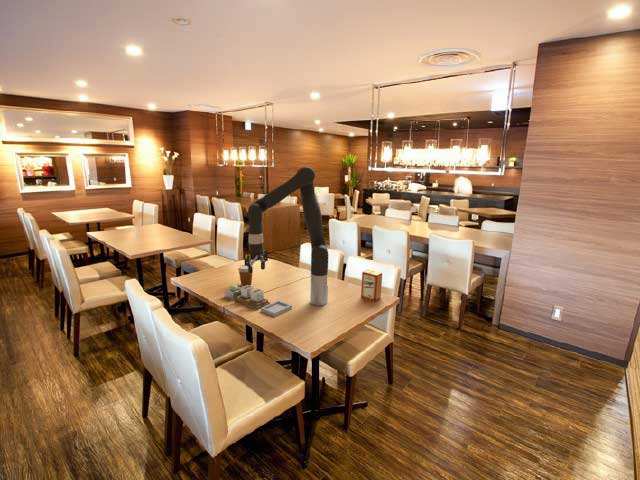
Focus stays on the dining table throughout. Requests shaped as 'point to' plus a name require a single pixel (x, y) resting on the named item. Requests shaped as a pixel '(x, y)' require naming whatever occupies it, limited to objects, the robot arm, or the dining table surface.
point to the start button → (234, 288)
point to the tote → (276, 308)
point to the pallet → (251, 304)
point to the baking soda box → (371, 284)
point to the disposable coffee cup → (245, 275)
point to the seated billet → (246, 292)
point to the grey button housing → (232, 293)
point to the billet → (257, 296)
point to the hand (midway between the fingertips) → (256, 271)
